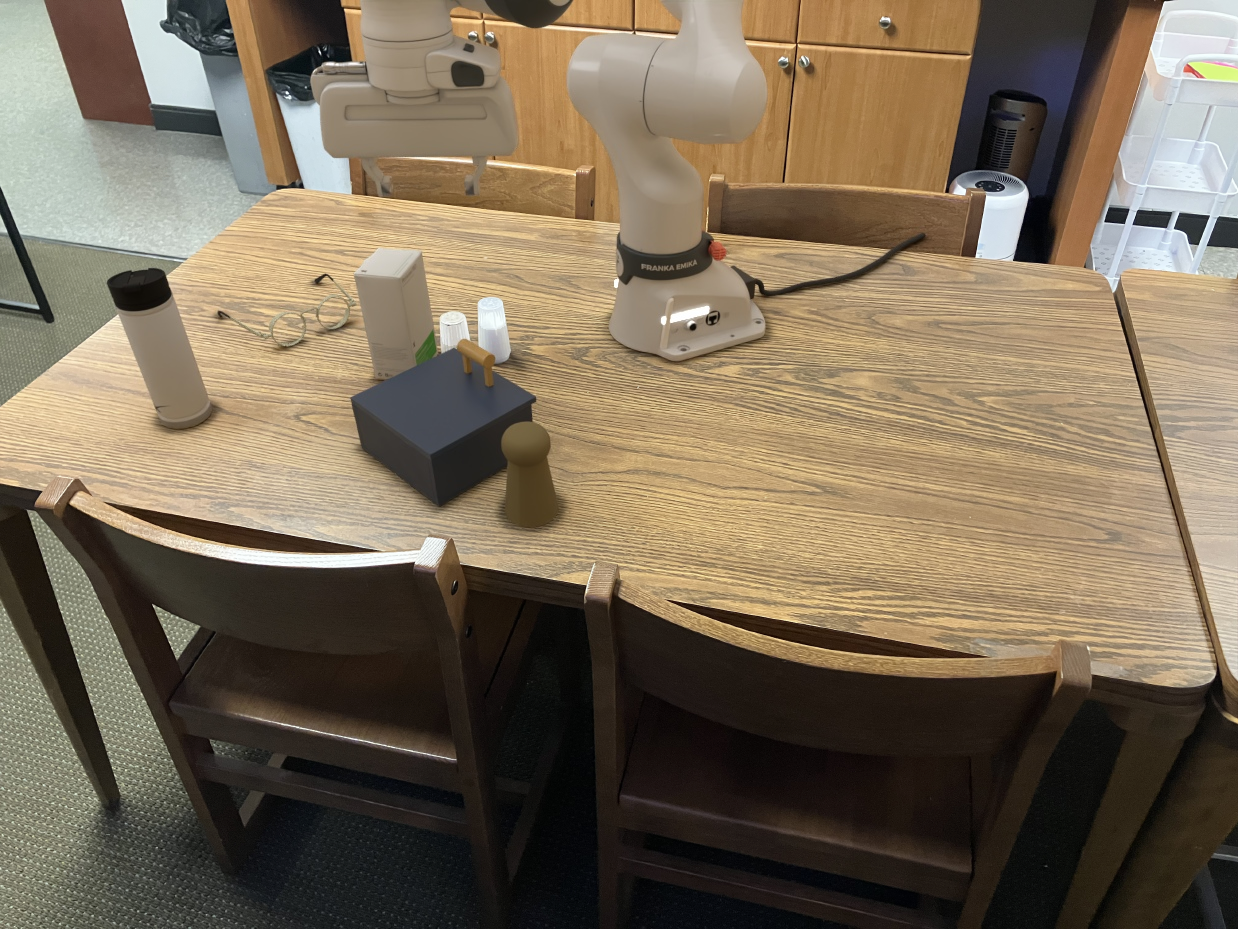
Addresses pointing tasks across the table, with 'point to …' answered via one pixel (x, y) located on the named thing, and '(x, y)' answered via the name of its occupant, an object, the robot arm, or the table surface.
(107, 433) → the table surface
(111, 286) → the travel mug
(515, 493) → the brown pawn
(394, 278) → the cosmetic box
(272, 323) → the round eyeglasses
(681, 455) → the table surface
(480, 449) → the chest
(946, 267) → the table surface
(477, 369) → the lid
